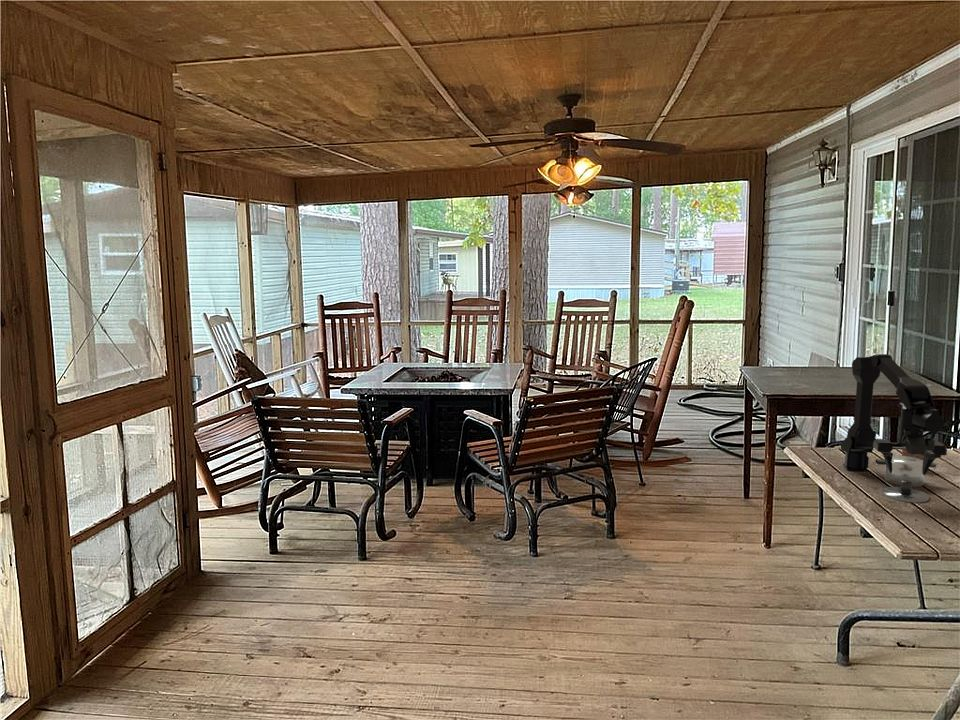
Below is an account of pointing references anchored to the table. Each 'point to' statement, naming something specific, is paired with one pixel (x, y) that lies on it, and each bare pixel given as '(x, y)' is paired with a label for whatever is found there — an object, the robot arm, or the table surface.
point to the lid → (905, 493)
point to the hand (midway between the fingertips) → (907, 473)
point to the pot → (905, 470)
